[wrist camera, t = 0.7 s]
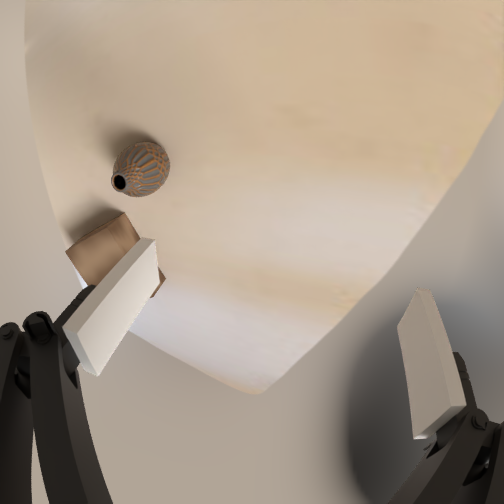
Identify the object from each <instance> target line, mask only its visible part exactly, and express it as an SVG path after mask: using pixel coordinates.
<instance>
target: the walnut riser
mask: <svg viewBox="0 0 504 504" xmlns="http://www.w3.org/2000/svg"><path fill="white" fill-rule="evenodd" d="M139 240H140V237H139V236H138V234H137V232H136V231H135V229H134V227H133V226H132V224H131V222H130V221H129V219H128V217H127V216H126V214H125V213H124V214H122V215H120V216H118V217H116V218H115V219H113V220H111V221H109V222H108V223H106V224H104V225H102V226H101V227H99V228H97V229H95V230H94V231H92V232H90V233H89V234H87V235H85V236H84V237H82V238H81V239H79V240H78V241H77V242H76V243H75V244H73V245H72V246H71V247H70V248H69V249H68V250H66V251H65V252H66V254H67V255H68V257H69V258H70V260H71V262H72V263H73V265H74V266H75V268H76V269H77V271H78V272H79V273H80V275H81V276H82V278H83V279H84V281H85V282H86V283H87V285H88V286H89V285H91V284H93V285H96V286H97V285H98V284H99V283H100V282H101V281H102V280H103V278H104V277H105V276H106V275H107V274H108V273H109V272H110V271H111V270H112V269H113V267H114V266H115V265H116V264H117V263H118V262H119V261H120V260H121V259H122V258H123V257H124V256H125V255H126V253H127V252H128V251H129V250H130V249H131V248H132V247H133V246H134V245H135V244H136V243H137V242H138V241H139ZM158 272H159V280H160V283H159V285H158V286H157V288H156V289H155V291H154V292H153V294H152V295H151V296H150V298H152V297H154V295H155V294H156V292H157V291H158V289H159V288H160V286H161V285H162V284H163V282H164V281H165V279H166V278H165V276H164V275H163V273H162V272H161V270H160V269H159V267H158Z"/></svg>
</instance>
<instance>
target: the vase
mask: <svg viewBox="0 0 504 504" xmlns="http://www.w3.org/2000/svg"><path fill="white" fill-rule="evenodd" d="M169 170H170V162H169V158H168V156H167V154H166V152H165V151H164V150H163V149H162V148H161V147H160V146H158V145H156V144H154V143H150V142H140V143H136V144H133V145H131V146H129V147H127V148H126V149H125V150H124V151H122V152H121V154H120V155H119V156H118V158H117V159H116V161H115V164H114V167H113V176H112V178H111V183H112V186H113V188H114V189H115V190H116V191H118V192H123V193H124V194H126V195H128V196H132V197H143V196H147V195H150V194H152V193H154V192H155V191H157V190H158V189H159V188H160V187H161V186H162V185H163V184H164V182H165V181H166V179H167V177H168V174H169Z"/></svg>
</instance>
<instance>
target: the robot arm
mask: <svg viewBox="0 0 504 504" xmlns="http://www.w3.org/2000/svg"><path fill="white" fill-rule="evenodd" d="M159 283H160V280H159V272H158V264H157V255H156V245H155V240H153V239H148V238H143V237H142V238H141V239H140V240H139V241H138V242H137V243H136V244H135V245H134V246H133V247H132V248H131V249H130V250H129V251H128V252H127V253H126V255H125V256H124V257H123V258H122V259H121V260H120V261H119V262H118V263H117V264H116V265H115V266H114V267H113V269H112V270H111V271H110V272H109V273H108V274H107V275H106V276H105V277H104V278H103V280H102V281H101V282H100V283H99V284H98V285H97V286H96V285H93V284H91V285H89V286H88V287H86V288H84V289H83V290H82V291H81V292H80V293H79V294H78V295H77V296H76V299H74V300H73V301H72V302H71V304H70V305H69V306H68V307H67V308H66V309H65V310H64V311H63V312H62V314H61V315H60V316H59V317H58V318H57V320H56V321H55V322H54V323H52V320H51V318H50V316H49V315H48V314H47V313H46V312H43V311H38V312H34V313H32V314H30V315H29V316H28V317H27V318H26V319H25V320H24V322H23V325H22V327H23V328H24V330H25V332H22V331H21V330H20V328H19V326H18V325H17V324H16V323H13V322H9V323H6V324H4V325H2V326H1V327H0V504H32V493H31V463H32V443H33V430H34V432H35V439H36V445H37V451H38V457H39V462H40V467H41V472H42V476H43V481H44V485H45V489H46V493H47V497H48V500H49V504H113V502H112V500H111V497H110V494H109V492H108V489H107V486H106V483H105V480H104V477H103V474H102V471H101V468H100V465H99V462H98V459H97V455H96V452H95V448H94V445H93V441H92V437H91V434H90V429H89V425H88V421H87V416H86V412H85V407H84V402H83V397H82V391H81V386H80V380H79V374H78V370H77V366H78V365H79V363H81V365H82V367H83V369H84V370H85V371H87V372H89V373H91V374H93V375H95V376H99V375H100V373H101V371H102V370H103V368H104V367H105V365H106V364H107V362H108V360H109V359H110V357H111V356H112V353H113V352H114V351H115V349H116V348H117V346H118V345H119V343H120V341H121V340H122V338H123V337H124V335H125V333H126V332H127V331H128V329H129V328H130V326H131V325H132V323H133V322H134V320H135V319H136V317H137V316H138V314H139V313H140V311H141V310H142V308H143V307H144V305H145V304H146V302H147V301H148V299H149V298H150V296H151V295H152V294H153V292H154V291H155V289H156V288H157V286H158V285H159ZM397 329H398V334H399V339H400V344H401V350H402V355H403V360H404V366H405V372H406V378H407V385H408V393H409V400H410V408H411V417H412V427H413V439H422V438H429V437H430V436H432V435H433V434H434V433H435V432H436V435H437V439H436V440H434V441H433V442H431V443H430V444H429V445H427V446H426V447H425V448H424V450H427V449H428V448H429V449H428V450H427V452H426V454H425V455H424V456H423V458H422V459H421V461H420V462H419V464H418V465H417V466H416V468H415V469H414V471H413V472H412V473H411V475H410V476H409V477H408V479H407V480H406V481H405V483H404V484H403V485H402V486H401V487H400V489H399V490H398V491H397V492H396V494H395V495H394V496H393V497H392V498H391V500H390V501H389V502H388V503H387V504H504V422H502V423H501V424H498V423H494V422H491V421H489V419H488V417H487V415H486V414H485V412H484V411H482V410H480V409H477V406H476V402H475V398H474V394H473V390H472V386H471V382H470V380H469V375H468V373H467V369H466V365H465V362H464V360H463V359H462V357H461V356H460V355H459V353H458V352H452V349H451V346H450V343H449V340H448V337H447V334H446V331H445V329H444V325H443V323H442V320H441V317H440V314H439V312H438V309H437V306H436V304H435V302H434V299H433V296H432V294H431V291H430V290H428V289H422V288H417V290H416V292H415V294H414V296H413V298H412V300H411V302H410V304H409V306H408V308H407V310H406V311H405V313H404V315H403V317H402V319H401V321H400V323H399V324H398V326H397ZM488 463H489V464H488Z"/></svg>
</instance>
